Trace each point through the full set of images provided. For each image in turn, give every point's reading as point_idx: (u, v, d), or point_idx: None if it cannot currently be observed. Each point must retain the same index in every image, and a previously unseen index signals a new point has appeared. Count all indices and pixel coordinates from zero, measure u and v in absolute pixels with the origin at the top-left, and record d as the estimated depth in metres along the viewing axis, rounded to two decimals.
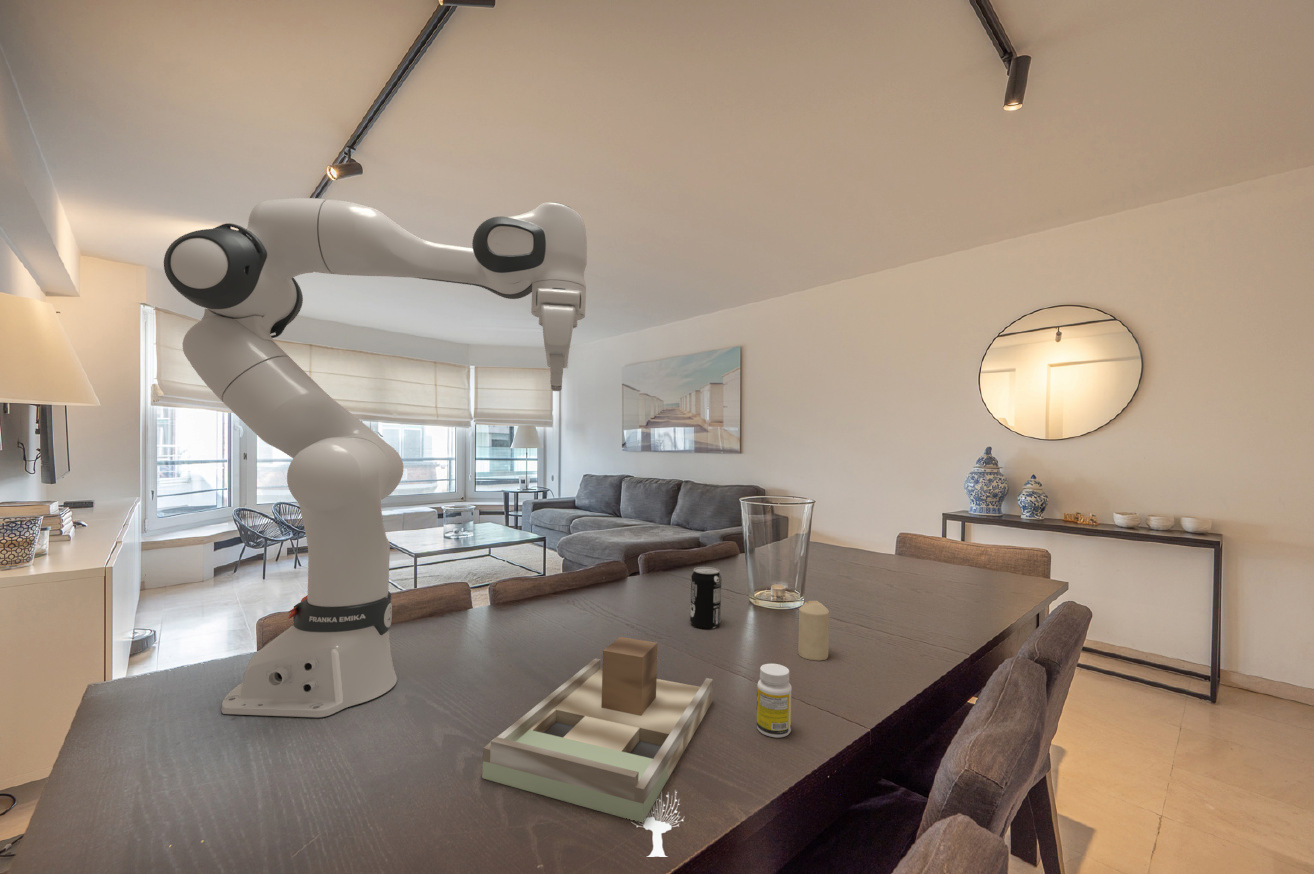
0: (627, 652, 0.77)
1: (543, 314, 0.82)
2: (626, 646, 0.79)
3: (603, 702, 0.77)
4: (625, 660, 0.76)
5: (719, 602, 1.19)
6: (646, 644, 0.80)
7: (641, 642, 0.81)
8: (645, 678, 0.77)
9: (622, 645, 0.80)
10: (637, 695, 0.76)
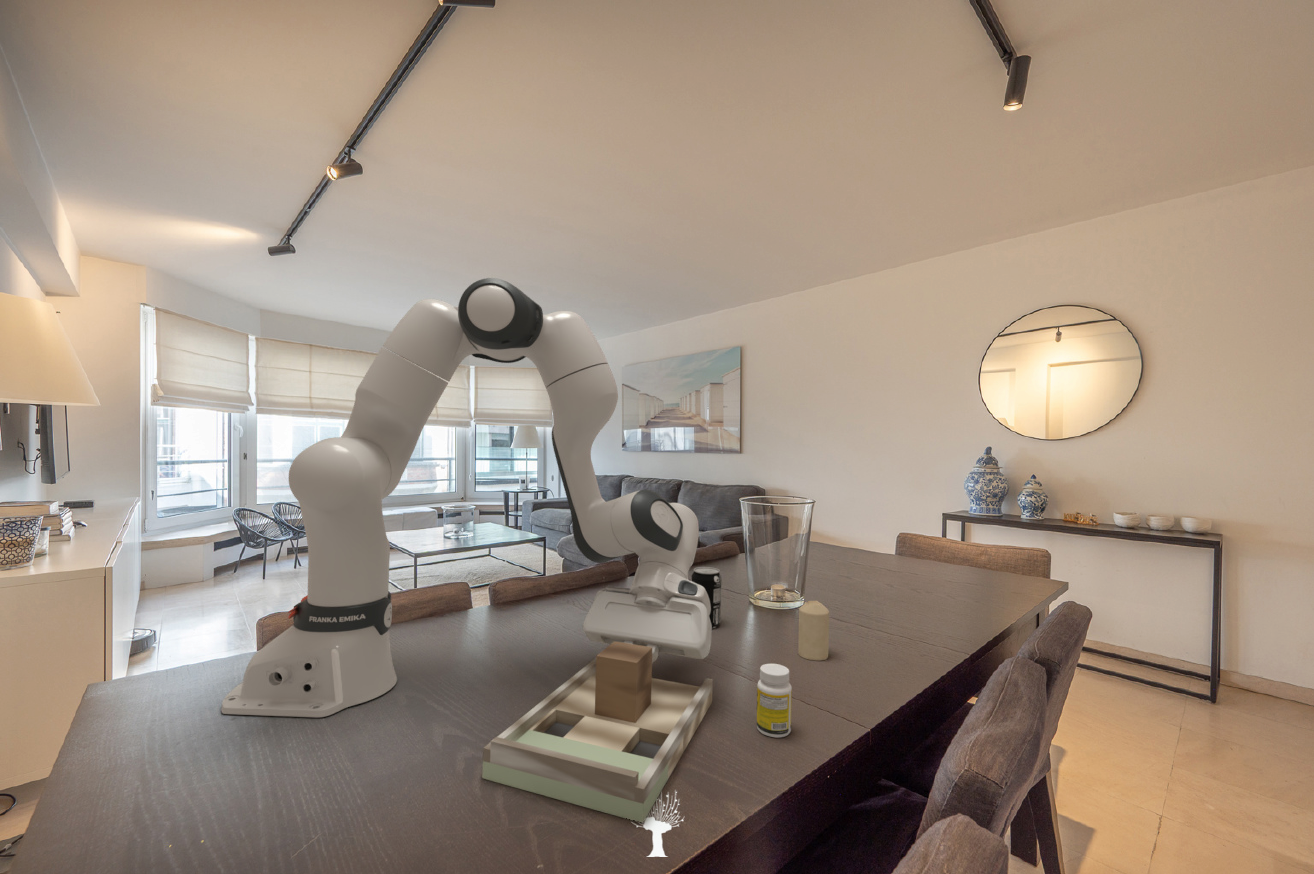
0: (621, 658, 0.75)
1: (706, 614, 0.83)
2: (620, 651, 0.77)
3: (596, 709, 0.75)
4: (618, 665, 0.74)
5: (719, 602, 1.19)
6: (640, 649, 0.78)
7: (636, 647, 0.79)
8: (639, 684, 0.75)
9: (616, 650, 0.78)
10: (631, 702, 0.74)
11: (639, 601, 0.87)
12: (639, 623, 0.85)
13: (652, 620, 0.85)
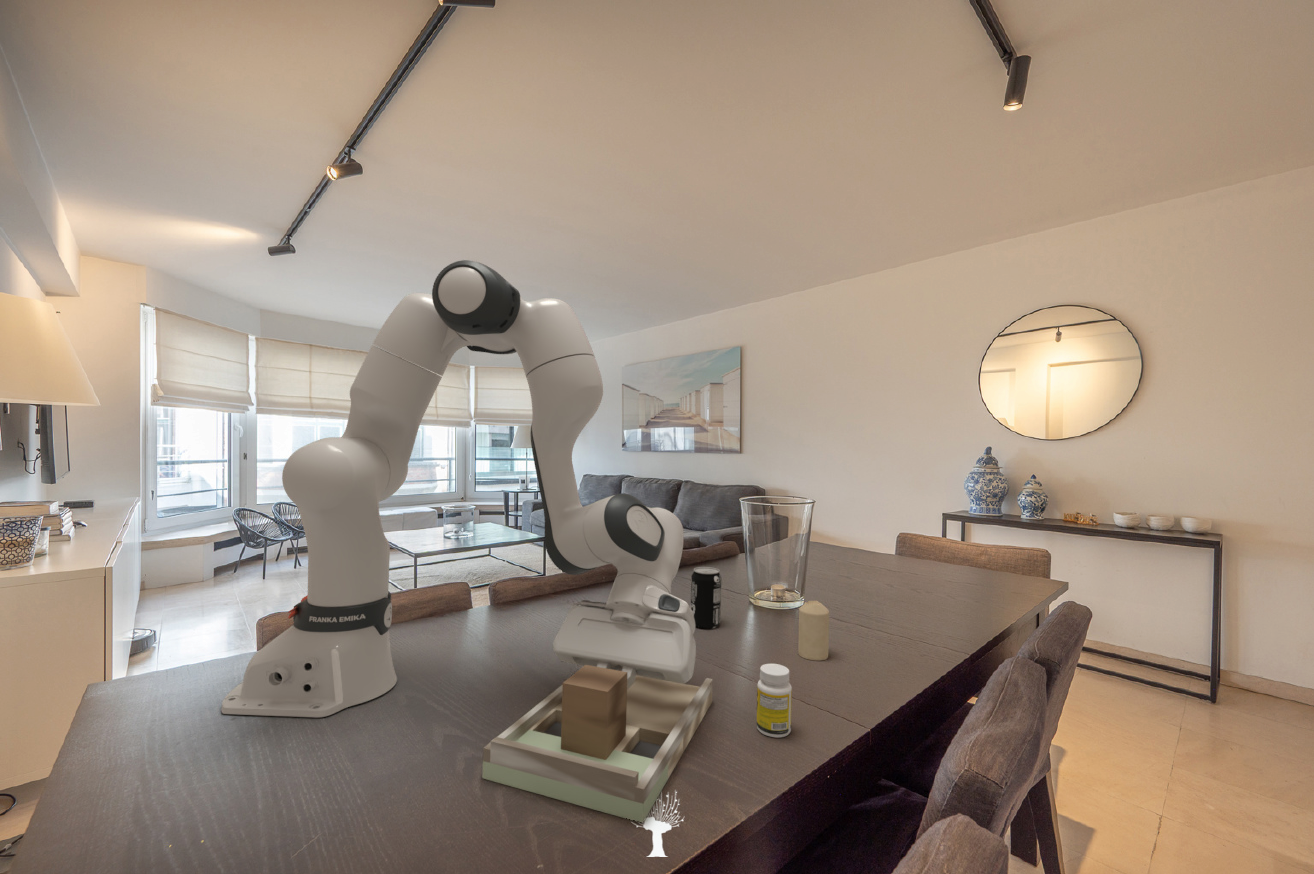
0: (591, 685, 0.66)
1: (689, 633, 0.74)
2: (591, 677, 0.69)
3: (563, 743, 0.67)
4: (587, 694, 0.66)
5: (719, 602, 1.19)
6: (614, 674, 0.70)
7: (608, 671, 0.70)
8: (611, 715, 0.66)
9: (585, 675, 0.69)
10: (601, 736, 0.65)
11: (615, 618, 0.78)
12: (614, 643, 0.76)
13: (629, 639, 0.76)
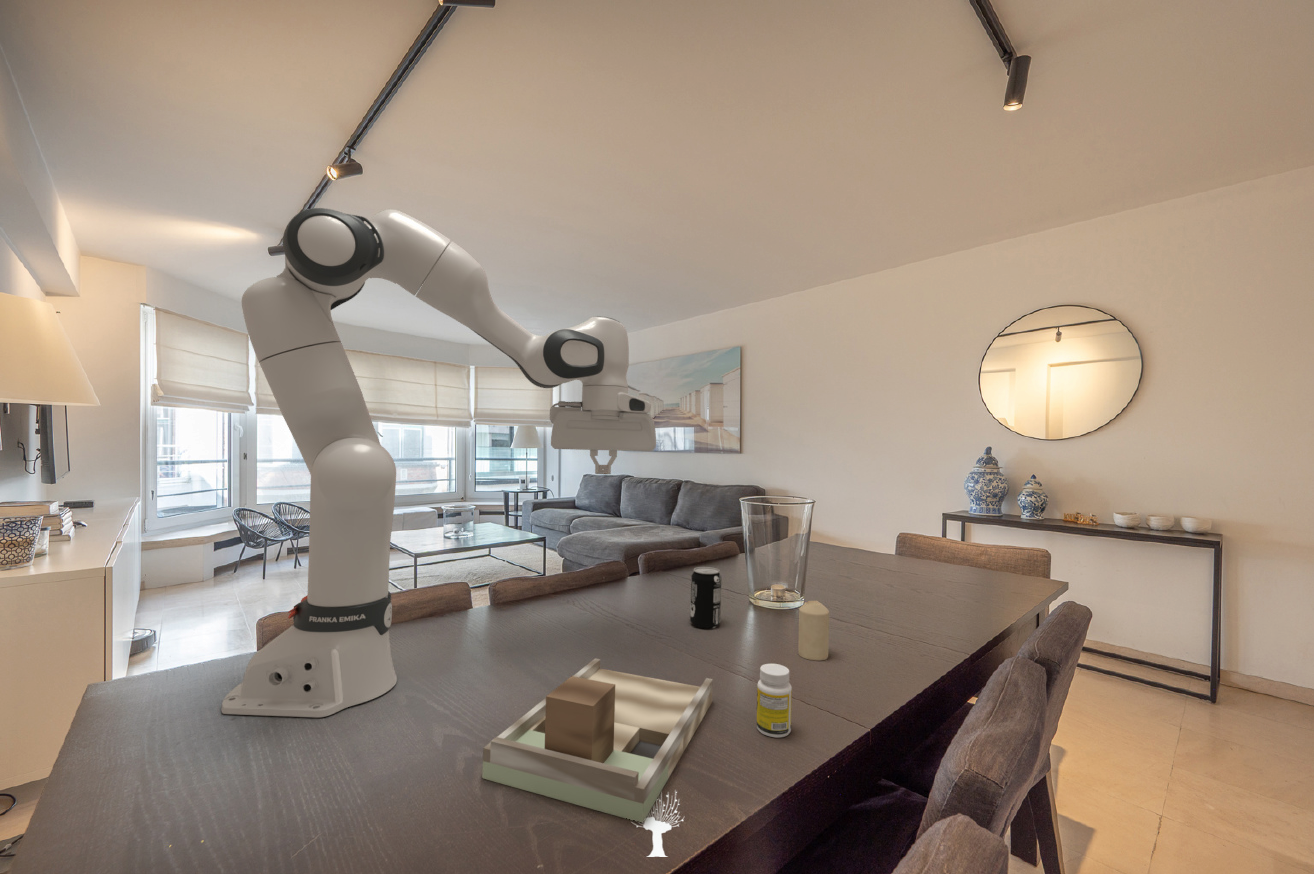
0: (576, 699, 0.63)
1: None
2: (576, 690, 0.65)
3: None
4: (572, 709, 0.62)
5: (719, 602, 1.19)
6: (601, 686, 0.66)
7: (595, 684, 0.67)
8: (597, 731, 0.62)
9: (571, 688, 0.65)
10: (586, 753, 0.61)
11: (597, 419, 1.04)
12: (600, 437, 1.05)
13: (610, 432, 1.05)
